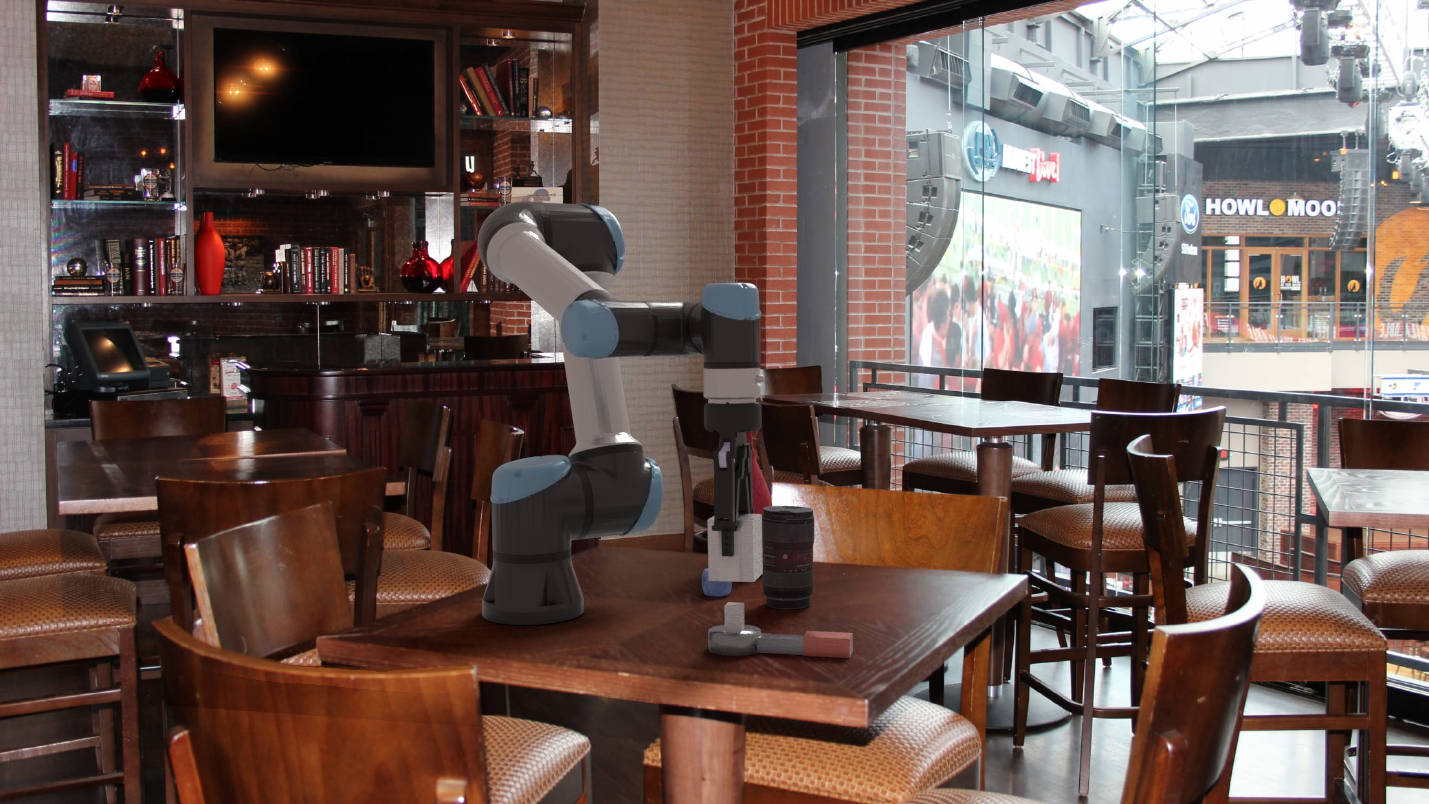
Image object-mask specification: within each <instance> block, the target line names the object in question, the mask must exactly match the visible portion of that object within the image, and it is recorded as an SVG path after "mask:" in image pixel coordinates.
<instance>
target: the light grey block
mask: <svg viewBox="0 0 1429 804" xmlns="http://www.w3.org/2000/svg"><path fill="white" fill-rule="evenodd" d="M712 526H714V515H713V516H712V517H709V518H708V519H707V551H708V552H707V554H708V555H707V557H708V558H707V559H708V563H707V564H708V569H709V581H719V547H718V531H712ZM737 530H740V573H741V580H740V581H732V583H733V582H736V583H737V582H738V583H740V582H743V583H754V582H756V580H758V579H759V578H760V577H761V576H762V574H763V562H762V514H738V529H737Z"/></svg>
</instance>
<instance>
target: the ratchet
mask: <svg viewBox="0 0 1429 804" xmlns="http://www.w3.org/2000/svg"><path fill="white" fill-rule="evenodd" d="M707 631H708V632H707V636H708V637H707V639H708V646H707V647H708V652H709V653H712V654H714V655H719V656H725V655H727V656H728V657H740V656H741V657H742V656H750V655H754V654H757V653H759V654H774V655H775V654H777V655H778V654H780V655H797V656H798V655H800V656H805V657H817V658H818V657H820V658H822V657H823V658H839V659H840V658H842V659H843V658H844V659H850V658H851V657H852V654H853V653H854V650H853V649H854V645H853V644H854V640H853V638H854V637H853V635H854V634H853V632H840V631H839V632H837V631H819V630H818V631H817V630H816V631H815V630H807V631H806V632H805V634H787V633H767V632H766V633H765V632H762V629H761V628H760V627H758V626H755V625H750V624H745V603H744V602H729V601H728V602H727V603H726V604H725V605H724V624H721V625H720V624H719V625H715V626H712V627H710V628H709V629H708V630H707Z"/></svg>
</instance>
